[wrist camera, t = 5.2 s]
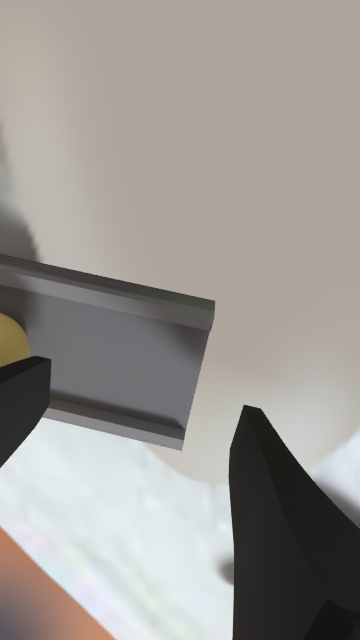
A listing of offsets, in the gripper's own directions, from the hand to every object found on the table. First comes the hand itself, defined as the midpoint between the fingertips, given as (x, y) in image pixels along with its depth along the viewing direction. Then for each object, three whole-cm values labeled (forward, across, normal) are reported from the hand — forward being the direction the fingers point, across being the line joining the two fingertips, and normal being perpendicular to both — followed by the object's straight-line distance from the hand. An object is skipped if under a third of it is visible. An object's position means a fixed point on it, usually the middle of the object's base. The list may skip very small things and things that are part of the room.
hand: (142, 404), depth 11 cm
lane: (+4, +6, 0) cm, 7 cm away
